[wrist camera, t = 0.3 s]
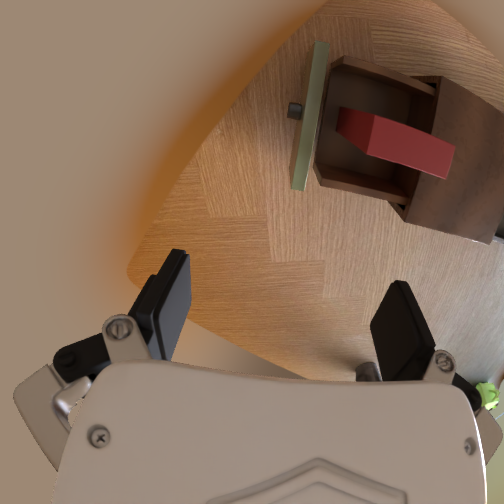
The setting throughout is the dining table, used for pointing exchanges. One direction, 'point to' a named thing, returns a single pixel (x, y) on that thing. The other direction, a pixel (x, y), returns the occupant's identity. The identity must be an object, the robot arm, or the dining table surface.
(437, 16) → the dining table surface
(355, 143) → the red rectangular block
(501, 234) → the tray
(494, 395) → the teapot
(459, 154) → the cabinet
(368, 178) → the drawer
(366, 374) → the beverage cup
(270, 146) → the dining table surface
